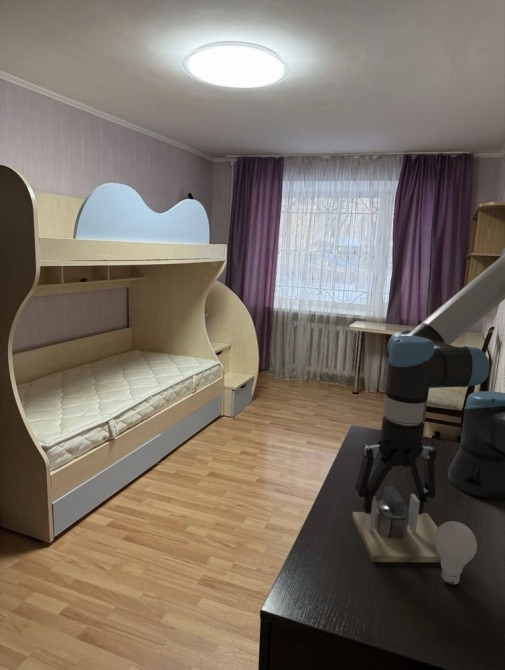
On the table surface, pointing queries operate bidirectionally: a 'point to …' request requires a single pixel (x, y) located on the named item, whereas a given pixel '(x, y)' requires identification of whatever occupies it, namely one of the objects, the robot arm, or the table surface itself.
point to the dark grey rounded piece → (391, 515)
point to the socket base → (400, 542)
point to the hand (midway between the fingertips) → (390, 527)
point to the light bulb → (454, 549)
